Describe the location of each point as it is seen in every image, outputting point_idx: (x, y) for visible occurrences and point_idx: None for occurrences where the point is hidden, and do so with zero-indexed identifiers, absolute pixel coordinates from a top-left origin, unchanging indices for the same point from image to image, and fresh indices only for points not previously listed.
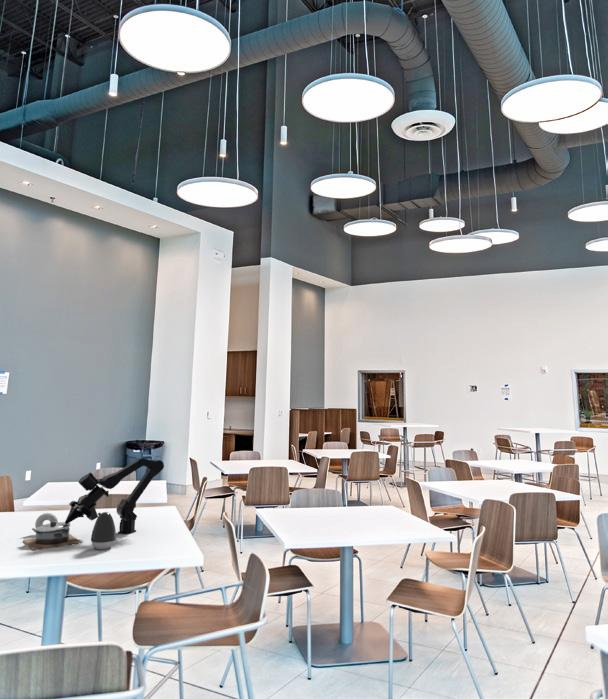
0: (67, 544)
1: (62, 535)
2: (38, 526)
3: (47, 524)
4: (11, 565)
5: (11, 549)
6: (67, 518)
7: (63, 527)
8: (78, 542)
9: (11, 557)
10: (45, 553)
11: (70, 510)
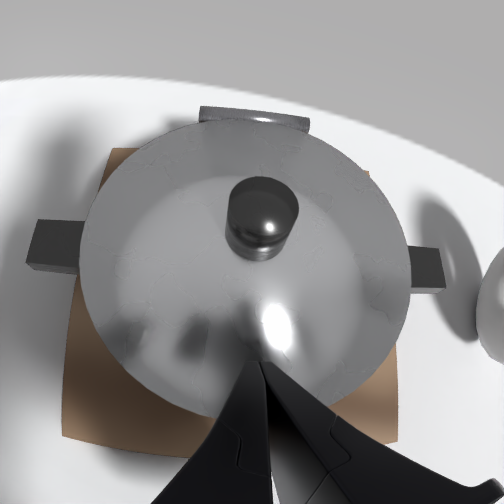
0: (67, 334)
1: (28, 264)
2: (501, 255)
3: (381, 223)
4: (4, 90)
5: (215, 101)
6: (256, 389)
7: (81, 285)
8: (65, 413)
9: (81, 88)
10: (17, 185)
11: (389, 467)
